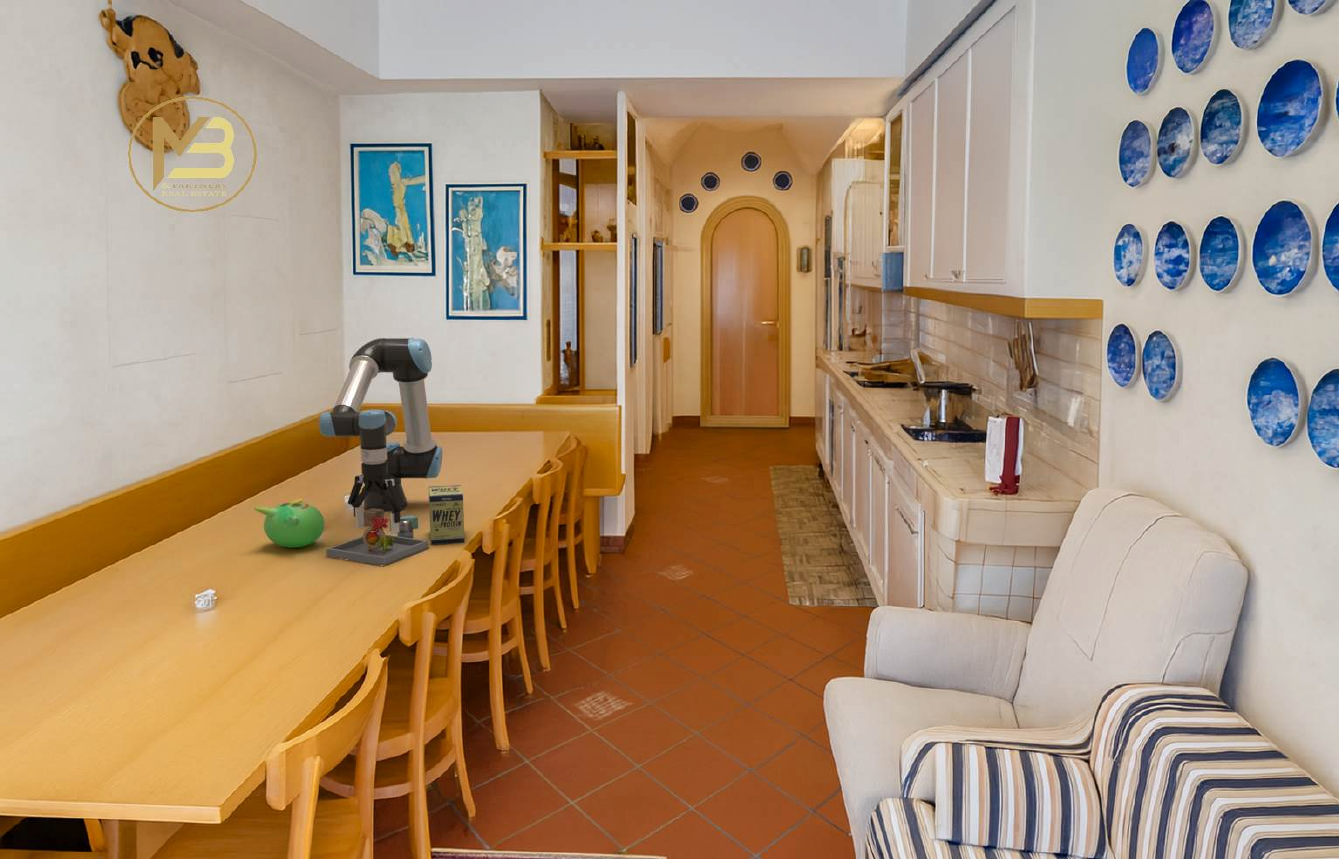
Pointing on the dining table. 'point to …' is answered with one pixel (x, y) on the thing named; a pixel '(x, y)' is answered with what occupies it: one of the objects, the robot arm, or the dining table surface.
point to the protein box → (446, 514)
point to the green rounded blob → (292, 523)
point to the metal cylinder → (406, 528)
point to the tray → (378, 550)
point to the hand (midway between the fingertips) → (377, 530)
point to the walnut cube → (372, 513)
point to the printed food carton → (373, 537)
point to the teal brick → (415, 519)
